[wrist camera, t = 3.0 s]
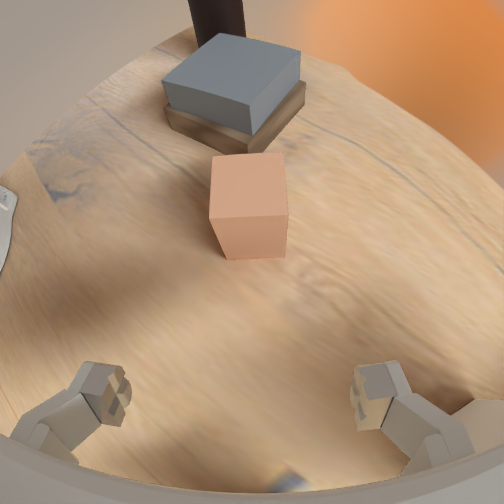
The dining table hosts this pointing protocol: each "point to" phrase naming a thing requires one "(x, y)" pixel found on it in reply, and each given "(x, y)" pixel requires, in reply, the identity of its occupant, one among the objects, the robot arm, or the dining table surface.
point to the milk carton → (483, 422)
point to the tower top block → (233, 81)
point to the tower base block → (233, 139)
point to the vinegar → (217, 18)
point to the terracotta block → (249, 205)
